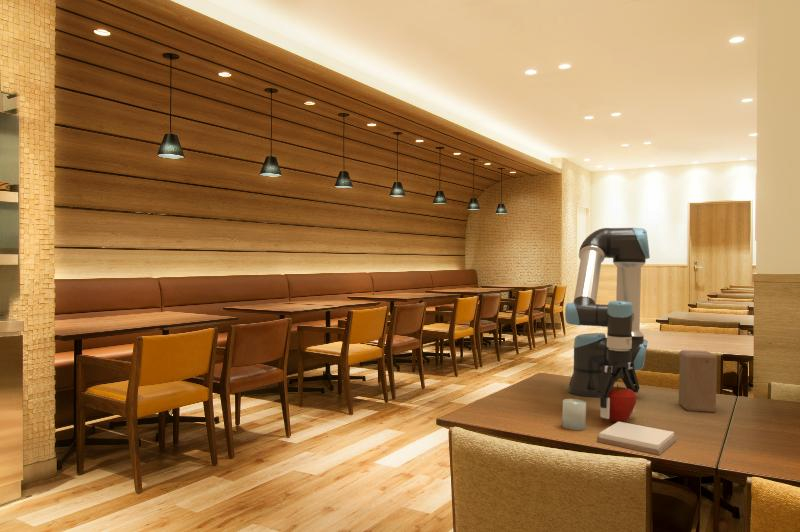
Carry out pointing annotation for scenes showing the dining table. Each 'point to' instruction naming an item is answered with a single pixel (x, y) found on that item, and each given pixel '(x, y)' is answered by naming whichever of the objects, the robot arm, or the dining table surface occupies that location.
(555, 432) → the dining table surface
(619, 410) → the apple
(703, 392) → the wooden block
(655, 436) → the stand
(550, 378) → the dining table surface
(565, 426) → the white pillar candle
